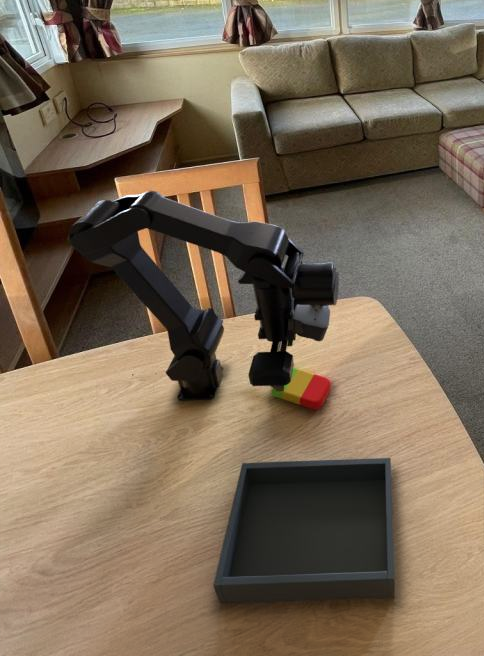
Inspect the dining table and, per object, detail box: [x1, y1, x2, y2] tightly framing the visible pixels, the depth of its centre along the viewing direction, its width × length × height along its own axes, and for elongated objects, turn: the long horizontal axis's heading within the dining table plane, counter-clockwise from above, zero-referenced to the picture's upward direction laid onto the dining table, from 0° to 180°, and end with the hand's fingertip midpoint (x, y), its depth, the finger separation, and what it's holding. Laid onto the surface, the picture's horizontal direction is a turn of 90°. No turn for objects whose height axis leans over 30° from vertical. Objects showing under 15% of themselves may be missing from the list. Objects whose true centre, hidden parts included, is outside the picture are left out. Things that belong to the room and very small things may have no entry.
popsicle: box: [270, 366, 332, 410], centre depth 86 cm, size 6×15×2 cm, turn 70°
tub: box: [213, 457, 396, 605], centre depth 65 cm, size 22×14×5 cm, turn 91°
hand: (285, 366), depth 84 cm, fingers open, 9 cm apart
